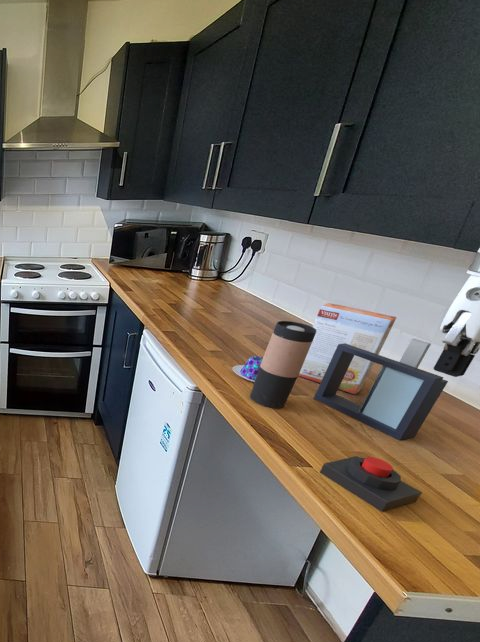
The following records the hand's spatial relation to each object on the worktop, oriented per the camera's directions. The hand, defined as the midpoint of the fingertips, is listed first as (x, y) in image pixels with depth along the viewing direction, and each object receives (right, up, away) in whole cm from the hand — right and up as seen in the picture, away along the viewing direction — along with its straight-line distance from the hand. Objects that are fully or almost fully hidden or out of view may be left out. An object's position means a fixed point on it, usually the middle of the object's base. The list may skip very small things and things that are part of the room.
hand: (447, 372), depth 70 cm
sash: (+12, -11, +22) cm, 28 cm away
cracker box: (+16, -5, +42) cm, 45 cm away
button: (-11, -18, +2) cm, 21 cm away
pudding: (-2, -4, +43) cm, 43 cm away
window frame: (+10, -12, +25) cm, 30 cm away
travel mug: (-9, -9, +31) cm, 33 cm away
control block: (-11, -21, +3) cm, 24 cm away
